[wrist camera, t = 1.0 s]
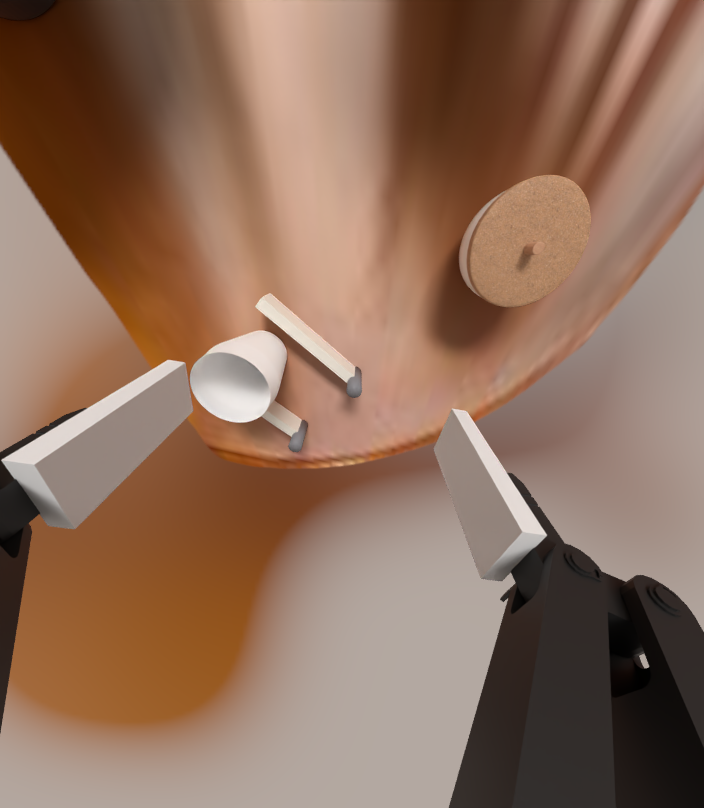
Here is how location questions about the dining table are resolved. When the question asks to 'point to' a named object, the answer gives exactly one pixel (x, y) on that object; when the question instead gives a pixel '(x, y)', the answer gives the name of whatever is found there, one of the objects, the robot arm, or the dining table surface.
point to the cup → (240, 376)
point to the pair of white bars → (320, 351)
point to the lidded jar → (525, 241)
